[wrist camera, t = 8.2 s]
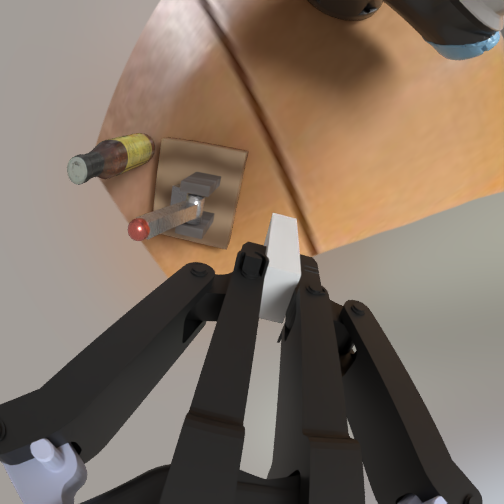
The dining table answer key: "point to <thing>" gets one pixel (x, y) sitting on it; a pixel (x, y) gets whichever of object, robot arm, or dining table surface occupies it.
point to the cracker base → (206, 162)
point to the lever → (168, 215)
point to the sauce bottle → (111, 158)
